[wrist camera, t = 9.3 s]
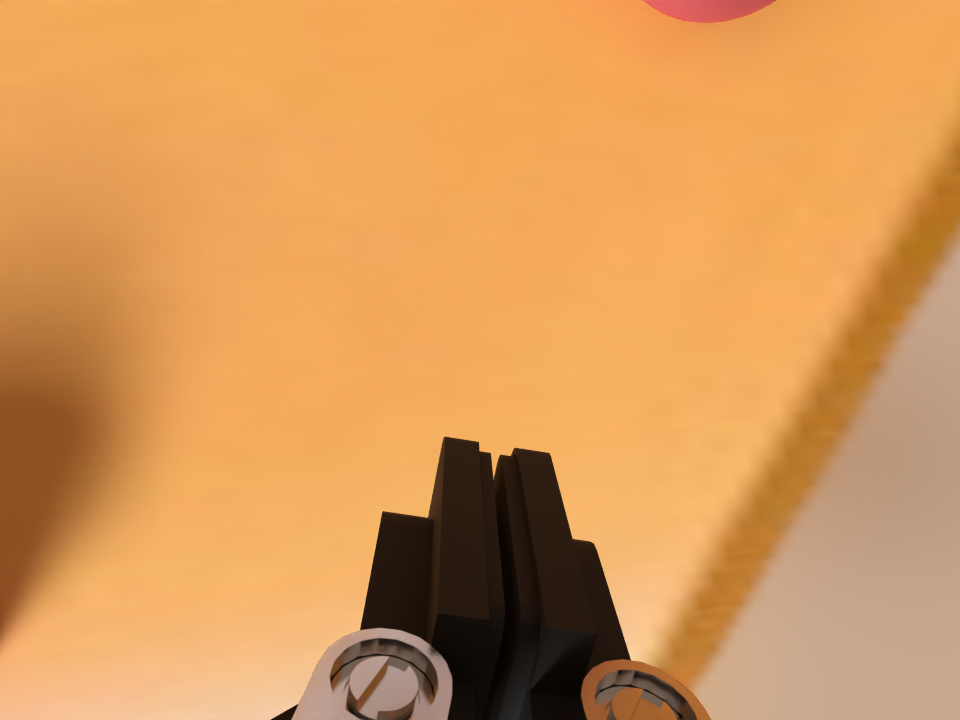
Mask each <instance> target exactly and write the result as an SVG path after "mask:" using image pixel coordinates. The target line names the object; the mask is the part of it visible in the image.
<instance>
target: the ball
mask: <svg viewBox="0 0 960 720" xmlns="http://www.w3.org/2000/svg"><path fill="white" fill-rule="evenodd" d="M643 1H645V2H646V3H647V4H649V5H650V6H652V7H653V8H655V9H656V10H658V11H660V12H662V13H663V14H666V15H668V16H670V17H673V18H676V19H680V20H684V21H689V22H701V23H713V22H723V21H728V20H732V19H736V18H740V17H743V16H746V15H749V14H751V13H753V12H756V11H758V10H760V9H762V8H764V7H766V6H768V5H769V4H771V3H773V2H774V1H776V0H643Z"/></svg>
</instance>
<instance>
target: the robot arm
mask: <svg viewBox="0 0 960 720" xmlns="http://www.w3.org/2000/svg"><path fill="white" fill-rule="evenodd" d="M271 720H711V718H710V717H709V715H708V713H707V711H706V710H705V708H704V707H703V706H702V704H701V703H700V702H699V700H698V699H697V697H696V696H695V695H694V694H693V693H692V692H691V691H690V690H689V689H688V688H687V687H686V686H684V685H683V684H682V683H681V682H680V681H679V680H678V679H676V678H674V677H673V676H671V675H669V674H668V673H666V672H664V671H663V670H661V669H659V668H656V667H654V666H651V665H648V664H645V663H643V662H639V661H631V659H630V656H629V653H628V649H627V646H626V643H625V640H624V636H623V633H622V630H621V627H620V624H619V620H618V617H617V614H616V611H615V607H614V604H613V601H612V598H611V595H610V591H609V588H608V585H607V582H606V578H605V575H604V572H603V569H602V566H601V562H600V559H599V556H598V553H597V550H596V547H595V545H594V544H593V543H592V542H590V541H583V540H576V539H572V535H571V531H570V528H569V524H568V520H567V516H566V512H565V509H564V505H563V501H562V497H561V493H560V490H559V486H558V482H557V478H556V474H555V470H554V467H553V463H552V459H551V456H550V453H545V452H539V451H532V450H526V449H520V448H514V450H513V452H512V455H511V456H506V455H500V457H499V459H498V463H497V467H496V472H495V476H494V481H493V471H492V460H491V453H487V452H480V451H479V442H475V441H469V440H463V439H456V438H450V437H444V439H443V443H442V448H441V453H440V458H439V463H438V468H437V474H436V479H435V484H434V489H433V495H432V500H431V505H430V510H429V516H428V518H425V517H418V516H411V515H405V514H398V513H391V512H384V511H383V512H382V517H381V523H380V528H379V533H378V538H377V544H376V549H375V554H374V560H373V565H372V570H371V575H370V581H369V586H368V591H367V597H366V602H365V607H364V612H363V618H362V623H361V628H360V631H357V632H354V633H352V634H349V635H346V636H343V637H342V638H341V639H339V640H338V641H337V642H335V643H334V644H332V645H331V646H330V647H328V649H327V650H326V652H325V653H324V654H323V656H322V657H321V659H320V660H319V662H318V664H317V666H316V668H315V670H314V672H313V674H312V677H311V679H310V681H309V683H308V685H307V687H306V689H305V692H304V694H303V696H302V698H301V700H300V702H299V704H297V705H296V706H294V707H292V708H290V709H289V710H287V711H285V712H283V713H282V714H280V715H278V716H276V717H275V718H273V719H271Z"/></svg>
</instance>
